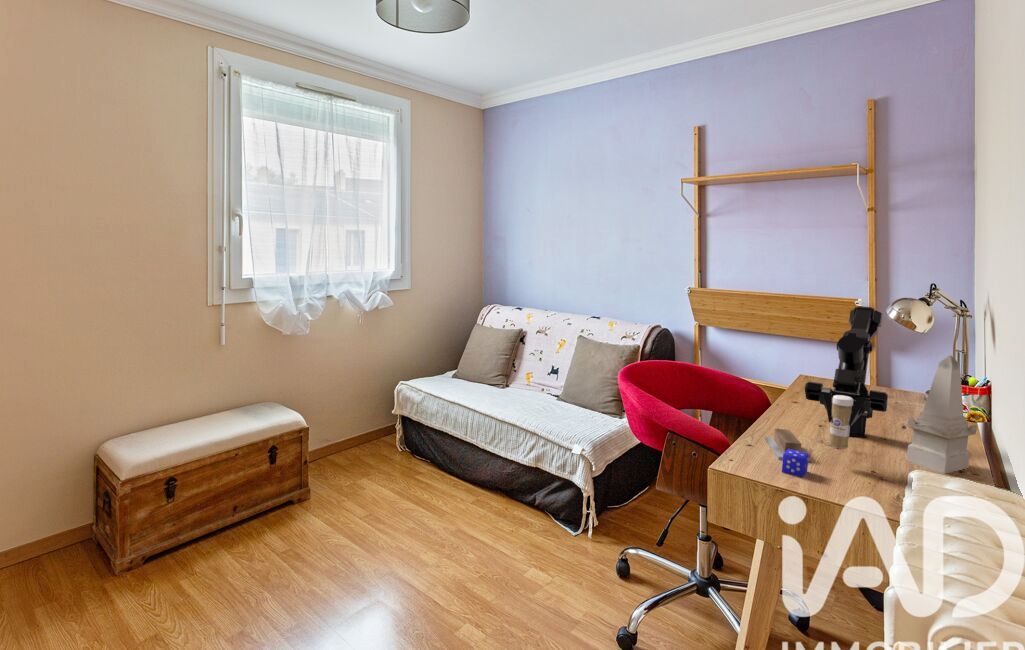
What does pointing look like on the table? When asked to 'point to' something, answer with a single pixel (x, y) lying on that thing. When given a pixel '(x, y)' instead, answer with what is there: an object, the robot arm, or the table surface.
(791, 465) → the die
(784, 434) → the ridge
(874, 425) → the table surface
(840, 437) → the spice jar
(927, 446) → the miniature monument
